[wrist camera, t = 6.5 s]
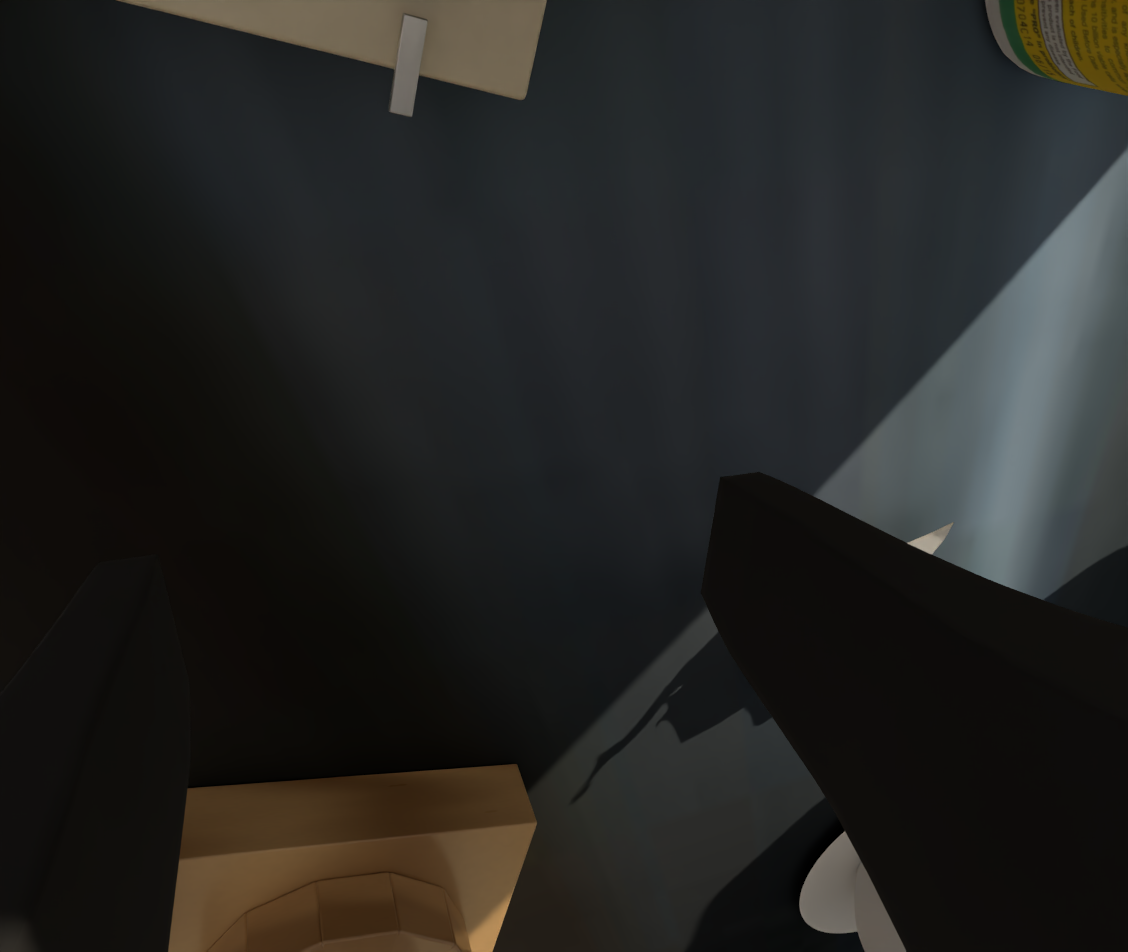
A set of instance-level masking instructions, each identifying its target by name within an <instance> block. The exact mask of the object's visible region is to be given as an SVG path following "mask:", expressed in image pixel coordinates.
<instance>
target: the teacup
mask: <svg viewBox="0 0 1128 952" xmlns="http://www.w3.org/2000/svg"><path fill="white" fill-rule="evenodd" d="M799 906H800V912H801V915H802V917H803V919H804V921H805V922H806V923H807V924H808V925H809V926H811V927H812V928H814V929H816V930H819V931H822V932H826V933H851V932H857V931H858V935H859V938H860V941H861V943H862V946H863V948H864V951H865V952H906V950H905V948H904V946H903V943H902V941H901V939H900V937H899V935H898V933H897V931H896V929H895V927H894V925H893V923H892V921H891V919H890V917H889V915H888V913H887V911H886V909H885V907H884V905H883V903H882V901H881V899H880V897H879V895H878V893H877V891H876V889H875V887H874V885H873V883H872V881H871V879H870V877H869V875H868V873H867V871H866V869H865V868H864V866H863V864H862V862H861V860H860V858H859V856H858V855H857V853H856V851H855V849H854V847H853V845H852V843H851V841H850V840H849V838H848V836H847V834H846V832H845V831H844V832H843V833H842V834H841V835H840V836H839V837H838V838H837V839H836V840H835V841H834V842H833V843H832V844H831V845H830V846H829V847H828V848H827V849H826V850H825V852H824V853H823V854H822V855H821V856H820V858H819V859H818V860H817V862H816V863H815V865H814V866H813V868H812V869H811V871H810V872H809V874H808V876H807V878H806V880H805V882H804V885H803V887H802V890H801V895H800V901H799Z"/></svg>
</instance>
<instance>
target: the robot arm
mask: <svg viewBox="0 0 1128 952" xmlns="http://www.w3.org/2000/svg"><path fill="white" fill-rule="evenodd" d="M701 594H702V597H703V599H704V601H705V603H706V605H707V607H708V610H709V612H710V614H711V616H712V618H713V621H714V623H715V625H716V627H717V629H718V631H719V633H720V635H721V637H722V639H723V641H724V643H725V645H726V647H727V649H728V651H729V653H730V654H731V656H732V657H733V659H734V660H735V662H736V663H737V665H738V667H739V668H740V670H741V671H742V673H743V674H744V676H745V677H746V679H747V680H748V682H749V683H750V685H751V686H752V688H753V689H754V691H755V692H756V694H757V695H758V697H759V698H760V700H761V701H762V703H763V704H764V706H765V707H766V709H767V710H768V711H769V713H770V714H771V716H772V717H773V719H774V720H775V722H776V723H777V725H778V726H779V728H780V729H781V731H782V732H783V734H784V735H785V736H786V738H787V739H788V741H789V742H790V744H791V745H792V747H793V748H794V750H795V751H796V753H797V754H798V756H799V757H800V759H801V760H802V761H803V763H804V764H805V766H806V767H807V769H808V770H809V772H810V773H811V775H812V776H813V778H814V779H815V781H816V782H817V784H818V786H819V787H820V789H821V790H822V792H823V794H824V795H825V797H826V798H827V800H828V802H829V803H830V805H831V807H832V808H833V810H834V812H835V814H836V815H837V817H838V819H839V821H840V823H841V825H842V827H843V828H844V830H845V832H846V834H847V836H848V838H849V840H850V841H851V843H852V845H853V847H854V849H855V851H856V853H857V855H858V856H859V858H860V860H861V862H862V864H863V866H864V868H865V869H866V871H867V873H868V875H869V877H870V879H871V881H872V883H873V885H874V887H875V889H876V891H877V893H878V895H879V897H880V899H881V901H882V903H883V905H884V907H885V909H886V911H887V913H888V915H889V917H890V919H891V921H892V923H893V925H894V927H895V929H896V931H897V933H898V935H899V937H900V939H901V941H902V943H903V946H904V948H905V950H906V952H1128V628H1127V627H1123V626H1120V625H1117V624H1113V623H1110V622H1107V621H1103V620H1100V619H1097V618H1093V617H1090V616H1087V615H1084V614H1081V613H1078V612H1075V611H1072V610H1069V609H1066V608H1063V607H1060V606H1057V605H1055V604H1052V603H1049V602H1046V601H1044V600H1041V599H1038V598H1036V597H1033V596H1030V595H1027V594H1025V593H1022V592H1019V591H1017V590H1014V589H1011V588H1009V587H1006V586H1003V585H1001V584H998V583H996V582H993V581H991V580H988V579H986V578H984V577H981V576H979V575H976V574H974V573H972V572H970V571H967V570H965V569H963V568H961V567H958V566H956V565H954V564H951V563H949V562H947V561H945V560H942V559H940V558H938V557H936V556H933V555H931V554H929V553H927V552H925V551H923V550H921V549H918V548H916V547H914V546H912V545H910V544H908V543H906V542H904V541H902V540H900V539H897V538H895V537H893V536H891V535H889V534H887V533H885V532H883V531H881V530H879V529H877V528H875V527H873V526H871V525H869V524H867V523H865V522H863V521H861V520H859V519H857V518H855V517H853V516H851V515H849V514H847V513H845V512H843V511H841V510H839V509H837V508H835V507H833V506H832V505H830V504H828V503H826V502H824V501H822V500H820V499H818V498H816V497H814V496H812V495H810V494H808V493H806V492H803V491H801V490H799V489H797V488H795V487H793V486H791V485H789V484H787V483H785V482H782V481H780V480H778V479H776V478H773V477H771V476H768V475H766V474H763V473H761V472H755V473H748V474H740V475H733V476H726V477H720V481H719V487H718V493H717V499H716V505H715V511H714V517H713V523H712V529H711V535H710V541H709V547H708V553H707V559H706V565H705V571H704V577H703V583H702V589H701ZM190 762H191V759H190V683H189V679H188V675H187V671H186V667H185V663H184V659H183V655H182V651H181V646H180V642H179V638H178V634H177V630H176V626H175V622H174V618H173V614H172V610H171V606H170V602H169V597H168V593H167V589H166V585H165V581H164V577H163V573H162V569H161V565H160V561H159V557H158V554H156V555H148V556H141V557H134V558H126V559H119V560H112V561H105V562H100V563H99V564H98V565H97V566H96V567H95V568H94V569H93V570H92V571H91V573H90V574H89V575H88V577H87V578H86V580H85V581H84V582H83V584H82V585H81V587H80V588H79V589H78V591H77V592H76V594H75V595H74V596H73V598H72V599H71V601H70V602H69V604H68V605H67V606H66V608H65V609H64V611H63V612H62V613H61V615H60V616H59V617H58V619H57V620H56V622H55V623H54V624H53V626H52V627H51V628H50V630H49V631H48V633H47V634H46V635H45V637H44V638H43V639H42V641H41V642H40V643H39V645H38V646H37V647H36V649H35V650H34V651H33V653H32V654H31V655H30V656H29V658H28V659H27V660H26V662H25V663H24V664H23V665H22V667H21V668H20V669H19V670H18V672H17V673H16V674H15V676H14V677H13V678H12V679H11V681H10V682H9V683H8V685H7V686H6V687H5V688H4V690H3V691H2V692H1V694H0V952H168V949H169V940H170V932H171V923H172V915H173V907H174V898H175V890H176V882H177V873H178V865H179V857H180V849H181V840H182V832H183V824H184V815H185V806H186V798H187V789H188V780H189V771H190Z"/></svg>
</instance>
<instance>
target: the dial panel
mask: <svg viewBox="0 0 1128 952" xmlns="http://www.w3.org/2000/svg"><path fill="white" fill-rule="evenodd" d="M117 1H121V2H125V3H129V4H133V5H137V6H141V7H145V8H149V9H153V10H157V11H161V12H165V13H169V14H173V15H177V16H181V17H185V18H189V19H193V20H197V21H202V22H206V23H210V24H214V25H218V26H222V27H226V28H230V29H234V30H238V31H242V32H246V33H250V34H254V35H258V36H262V37H266V38H270V39H274V40H278V41H282V42H286V43H290V44H294V45H299V46H303V47H307V48H311V49H315V50H319V51H323V52H327V53H331V54H335V55H339V56H343V57H347V58H351V59H355V60H359V61H363V62H367V63H371V64H375V65H379V66H383V67H387V68H392V69H394V75H393V81H392V88H391V95H390V101H389V108H388V110H389V112H391V113H395V114H400V115H404V116H408V117H412V114H413V108H414V102H415V96H416V90H417V84H418V78H419V75H420V76H424V77H428V78H432V79H436V80H440V81H444V82H448V83H452V84H456V85H460V86H464V87H468V88H472V89H476V90H480V91H485V92H489V93H493V94H497V95H501V96H505V97H509V98H513V99H517V100H523V99H524V98H525V97H526V94H527V90H528V85H529V80H530V76H531V71H532V67H533V62H534V58H535V53H536V48H537V44H538V39H539V35H540V30H541V26H542V21H543V16H544V12H545V7H546V3H547V0H117Z"/></svg>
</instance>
